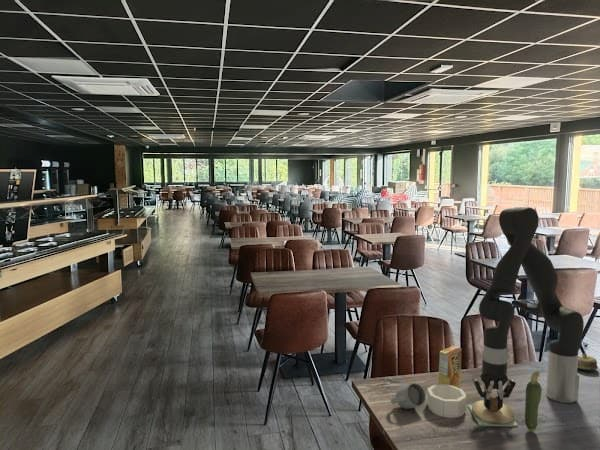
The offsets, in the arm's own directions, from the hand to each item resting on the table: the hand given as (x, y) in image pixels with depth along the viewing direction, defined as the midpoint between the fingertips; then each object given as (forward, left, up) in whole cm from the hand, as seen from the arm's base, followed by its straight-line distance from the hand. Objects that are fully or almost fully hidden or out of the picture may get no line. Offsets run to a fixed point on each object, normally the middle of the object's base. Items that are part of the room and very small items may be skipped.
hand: (492, 408), depth 151 cm
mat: (0, 0, -3) cm, 3 cm away
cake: (-52, -43, -3) cm, 68 cm away
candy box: (+9, -19, -3) cm, 21 cm away
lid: (0, 0, -2) cm, 2 cm away
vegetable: (-9, +8, -3) cm, 13 cm away
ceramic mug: (+28, -2, -3) cm, 28 cm away
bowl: (+14, -4, -3) cm, 15 cm away
